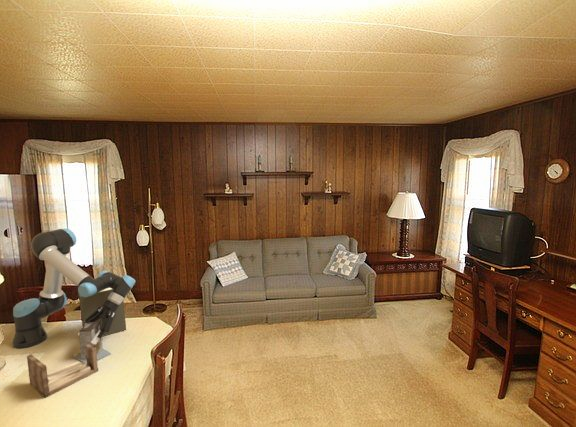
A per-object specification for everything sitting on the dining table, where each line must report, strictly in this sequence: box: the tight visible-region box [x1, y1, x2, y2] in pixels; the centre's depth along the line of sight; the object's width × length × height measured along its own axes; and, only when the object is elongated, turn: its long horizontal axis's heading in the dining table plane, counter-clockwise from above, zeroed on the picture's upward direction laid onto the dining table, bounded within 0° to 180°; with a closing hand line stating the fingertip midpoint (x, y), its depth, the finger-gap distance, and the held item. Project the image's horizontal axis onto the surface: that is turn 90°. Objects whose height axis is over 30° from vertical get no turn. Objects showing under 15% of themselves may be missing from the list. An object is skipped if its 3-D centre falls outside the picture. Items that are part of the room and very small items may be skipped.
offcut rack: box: [26, 344, 99, 399], centre depth 147 cm, size 16×22×14 cm
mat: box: [73, 348, 112, 365], centre depth 166 cm, size 14×12×1 cm
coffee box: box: [78, 322, 104, 359], centre depth 165 cm, size 9×6×16 cm
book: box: [78, 287, 127, 337], centre depth 187 cm, size 22×9×28 cm, turn 127°
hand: (86, 339), depth 162 cm, fingers open, 13 cm apart
